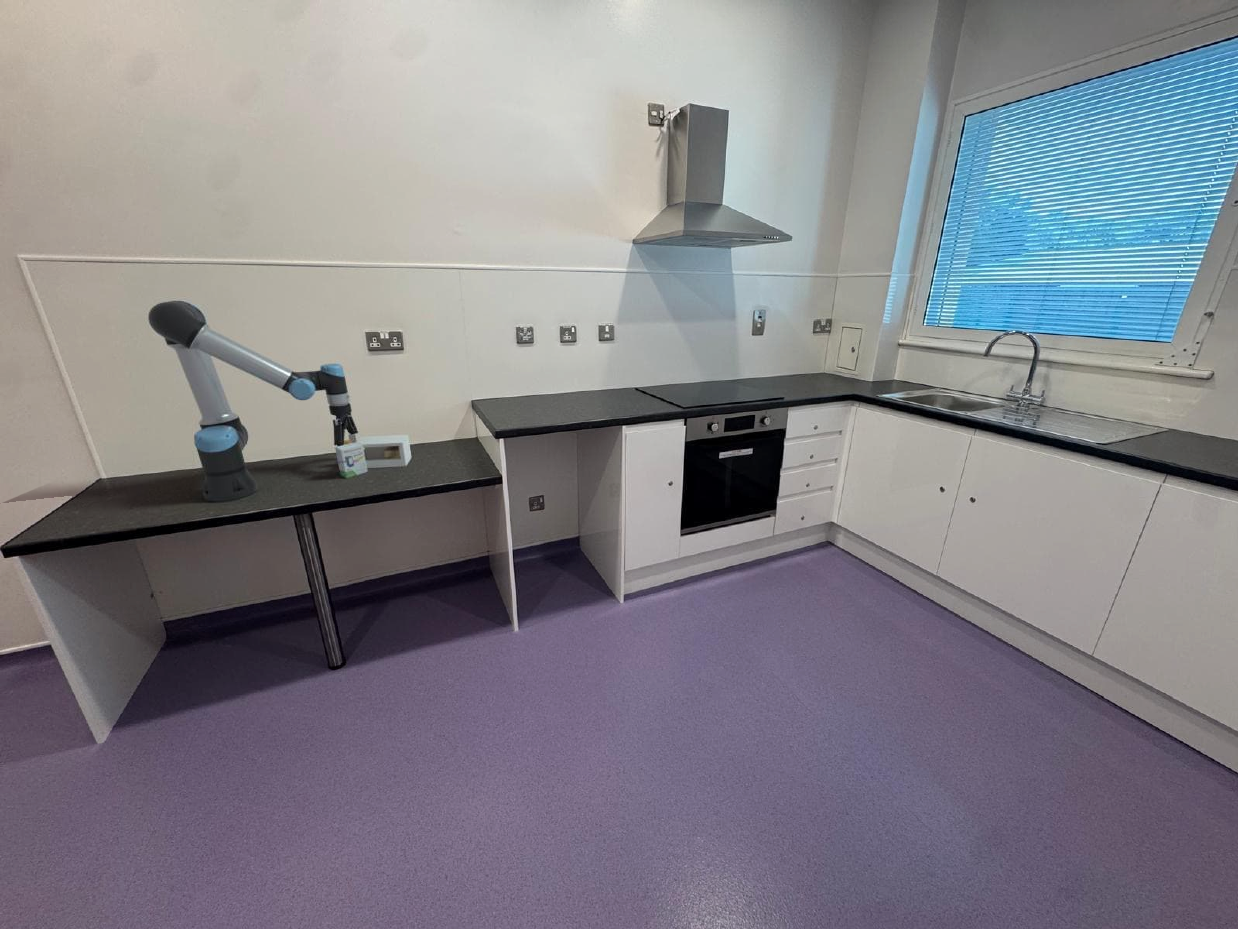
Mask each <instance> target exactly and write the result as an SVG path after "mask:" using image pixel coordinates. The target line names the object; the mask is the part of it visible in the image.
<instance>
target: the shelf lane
mask: <svg viewBox="0 0 1238 929" xmlns="http://www.w3.org/2000/svg"><path fill="white" fill-rule="evenodd" d="M357 443H360V444H362V445H363V449H364V455H365V460H366V466H367V469H377V468H394V467H395V468H397V467H398V468H399V467H401V468H402V467H407V465H409V462H410V461H411V459H412V453H411V445H410V438H409V434H396V435H395V434H394V435H392V434H391V435H375V436H374V435H371V436H369V435H368V436H361V437H359V439H357ZM389 446H399V450H400V457H401V458H397V459H385V453H384V451H385V450H386V448H387V447H389Z"/></svg>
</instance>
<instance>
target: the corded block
mask: <svg viewBox="0 0 1238 929" xmlns="http://www.w3.org/2000/svg"><path fill="white" fill-rule="evenodd" d="M344 444H345V445H346V444H351V440H349V439H344ZM384 453H385V459H397V458H401V457H400V450H399V446H389V447H387V448H386V450H385V451H384Z"/></svg>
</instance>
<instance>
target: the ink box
mask: <svg viewBox="0 0 1238 929" xmlns="http://www.w3.org/2000/svg"><path fill="white" fill-rule="evenodd" d="M335 454H336V458H337V464H338V469H339V473H340V476H341V477H343V478H346V479H348V478H352V477H355V476H359V475H362V474H365V473H367V472H368V468H367V466H366V454H365V449H364V447H363V445H362V444H360V443H357V442H355V443H351V444H346V445H342V446H338V447H337V446H336V447H335Z"/></svg>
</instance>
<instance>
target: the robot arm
mask: <svg viewBox="0 0 1238 929" xmlns="http://www.w3.org/2000/svg"><path fill="white" fill-rule="evenodd" d="M147 320H148V322H149V325H150V328H152V330H153V331H154V332H155V333H157V334H158V335H159V336H161V337H162V338H164V341H165V343H166V345H167V346H168V347H170V348H172V349H173V350H175V352H176V355H177V358H178V360H179V362H180V364H181V365H180V366H181V367H182V370H183V373H184V376H185V377H186V380H187V382H188V385H189V387H190V390H191V392H192V394H193V397H194V400H195V402H196V406H197V407H198V410H199V412H200V415H201V417H202V418H201V419H200V421H199V422H198V424H199V426H200V430H198V431H197V432H195V433H194V436H193V440H194V446H195V448H196V452H197V453H198V457H199V460H200V464H201V467H202V471H203V473H204V476H205V478H204V486H203V497H204V499H205V501H208V502H215V503H216V502H218V503H219V502H228V501H233V500H238V499H242V498H245V497H248V496H250V495H252V494H254V493H255V492H257V491H258V490H259V488H258V487H259V486H258V482H256V480H255V478H254V477H253V476H252V474H251V473H250V472H249V470H248V469H247V466H246V463H245V458H244V454H243V451H244V449H245V447H246V446H247V444H248V441H249V432H248V430H247V428H246V427H245V425H243V424H242V421H241V419H240V417H239V415H238V413H237V414H236V413H234V412H233V411H232V409H231V407H230V404H229V401H228V398H227V396H226V393H225V391H224V388H223V385H222V383H221V380H220V377H219V374H218V371H217V369H216V366H215V364H214V361H213V358H216V359H217V360H218V361H222V362H224V363H226V364H228V365H230V366H232V367H234V368H236V369H239V371H242V372H245V373H246V374H249V375H251V376H253V377H255V378H256V379H259V380H261V381H263V382H265V383H268V384H270V385H272V386H273V387H276V388H278V389H280V390H282V391H284V392H287V393H288V394H290V395H291V396H292V397H293V398H294V399H296V400H298V401H307V400H310V399H311V398H312V397H313V396H314V395H315V393H316V392H317V391H318V392H319V391H325V395H326V398H327V399H326V400H327V403H328V408H329V412H330V415H332V416H335V419H332V424H333V445H334V446H336V447H338V446H342V445H345V444H344V441H345V435H346V434H345V433H346V432H348V440H351V443H355V442H357V441H358V438H357V434H358V433H359V431H358V429H357V425H356V423H355V420H354V418H353V416H352V406H351V403H350V397H351V395H350V394H349V392H348V385H347V381H346V376H345V375H346V374H345V372H344V368H343V366H342V365H341V364H339V363H326V364H321V365H320V369H319V370H315V371H314V370H313V371H312V370H311V371H299V372H298V371H293V370H291V369H289V368H288V367H285V366H284V365H281V364H279V363H277V361H274V360H272V359H270V358H268V357H266V356H264V355H262V354H260V353H258V352H256V351H254V350H252V349H250V348H249V347H247V346H244V345H243V344H240V343H238V342H237V341H235V340H232V339H230V338H229V337H227V336H224V335H222V334H221V333H219V332H216V331H215V330H213V329H211V328H210V326H209V324H208V323H207V318H206V316H205V314H204V312H203V311H202V310H201V309H200V308H198V307H197V306H196V305H194V304H192V303H190V302H187V301H183V300H170V301H163V302H159V303H157V304H155V305H153V306H152V307H151V308H150V310H149V312H148V319H147ZM212 357H213V358H212ZM346 430H347V431H346ZM345 431H346V432H345Z"/></svg>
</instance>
